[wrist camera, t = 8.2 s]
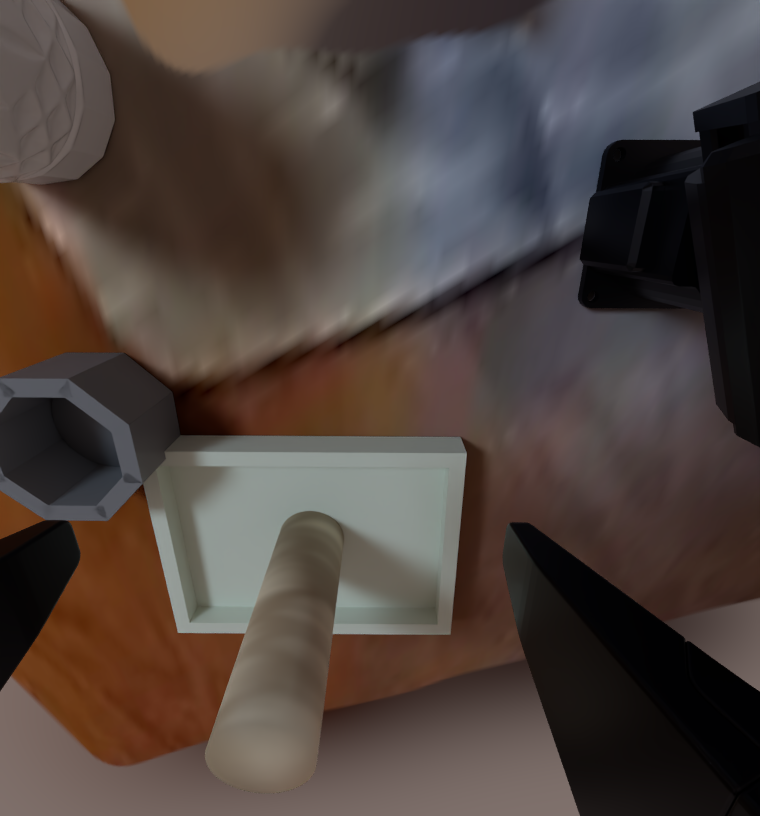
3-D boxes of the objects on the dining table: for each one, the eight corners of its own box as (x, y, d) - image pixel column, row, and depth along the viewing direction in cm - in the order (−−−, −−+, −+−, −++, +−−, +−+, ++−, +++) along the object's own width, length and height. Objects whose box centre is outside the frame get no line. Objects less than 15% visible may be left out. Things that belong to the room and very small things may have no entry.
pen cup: (165, 353, 21) (117, 379, 17) (188, 475, 23) (151, 521, 20) (24, 352, 21) (-54, 378, 17) (63, 474, 23) (2, 519, 20)
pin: (342, 511, 23) (313, 725, 13) (344, 563, 25) (319, 794, 15) (277, 510, 23) (196, 724, 13) (282, 562, 25) (213, 793, 15)
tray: (460, 436, 22) (466, 453, 21) (446, 609, 27) (450, 634, 25) (153, 435, 22) (135, 451, 21) (190, 608, 27) (178, 632, 25)
